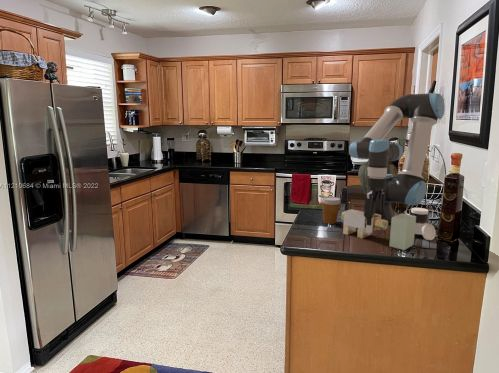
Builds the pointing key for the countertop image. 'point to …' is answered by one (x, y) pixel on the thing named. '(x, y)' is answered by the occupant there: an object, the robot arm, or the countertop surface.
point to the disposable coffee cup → (330, 209)
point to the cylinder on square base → (375, 222)
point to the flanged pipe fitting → (423, 224)
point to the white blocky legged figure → (355, 223)
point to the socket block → (402, 231)
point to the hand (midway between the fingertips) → (373, 230)
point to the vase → (364, 175)
